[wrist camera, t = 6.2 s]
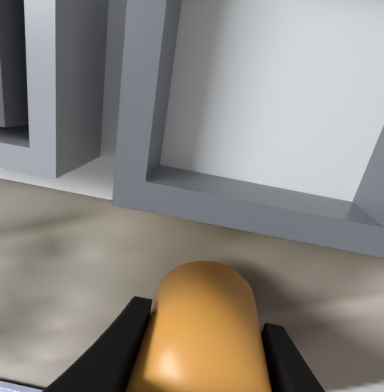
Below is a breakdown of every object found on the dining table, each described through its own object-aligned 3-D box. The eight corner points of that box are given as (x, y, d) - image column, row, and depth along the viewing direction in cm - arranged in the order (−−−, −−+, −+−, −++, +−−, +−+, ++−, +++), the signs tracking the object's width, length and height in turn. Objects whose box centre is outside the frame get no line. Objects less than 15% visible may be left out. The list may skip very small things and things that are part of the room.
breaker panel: (347, 220, 11) (439, 309, 6) (-163, 121, 12) (-415, 137, 7) (478, -98, 8) (883, -400, 3) (-257, -215, 8) (-875, -622, 4)
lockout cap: (242, 349, 12) (258, 516, 7) (151, 330, 12) (107, 483, 7) (266, 272, 10) (306, 416, 6) (163, 252, 10) (118, 377, 6)
